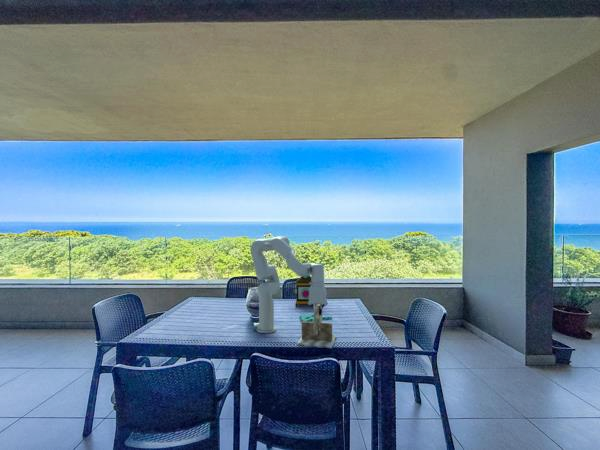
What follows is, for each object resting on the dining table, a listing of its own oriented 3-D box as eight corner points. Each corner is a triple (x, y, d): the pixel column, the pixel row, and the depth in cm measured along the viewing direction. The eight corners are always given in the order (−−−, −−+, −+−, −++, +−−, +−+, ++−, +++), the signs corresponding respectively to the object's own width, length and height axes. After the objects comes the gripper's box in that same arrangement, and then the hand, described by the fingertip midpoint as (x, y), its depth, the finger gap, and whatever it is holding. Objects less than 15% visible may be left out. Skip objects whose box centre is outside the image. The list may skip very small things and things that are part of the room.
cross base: (297, 345, 185) (297, 325, 185) (304, 334, 203) (304, 316, 203) (331, 348, 181) (331, 328, 181) (335, 337, 198) (335, 319, 198)
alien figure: (332, 319, 237) (310, 315, 249) (332, 316, 237) (310, 312, 249) (315, 326, 221) (293, 321, 234) (315, 323, 221) (293, 318, 234)
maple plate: (313, 335, 185) (314, 306, 188) (318, 330, 201) (318, 304, 203) (316, 335, 185) (317, 306, 187) (321, 331, 200) (322, 304, 203)
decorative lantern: (295, 302, 288) (295, 268, 288) (317, 302, 287) (317, 268, 287) (293, 308, 268) (293, 272, 268) (317, 308, 267) (317, 272, 267)
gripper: (303, 285, 192) (303, 316, 192) (329, 285, 189) (330, 317, 188) (306, 282, 200) (306, 312, 199) (331, 283, 196) (332, 314, 196)
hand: (318, 314), depth 194 cm, fingers closed on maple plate, 2 cm apart
